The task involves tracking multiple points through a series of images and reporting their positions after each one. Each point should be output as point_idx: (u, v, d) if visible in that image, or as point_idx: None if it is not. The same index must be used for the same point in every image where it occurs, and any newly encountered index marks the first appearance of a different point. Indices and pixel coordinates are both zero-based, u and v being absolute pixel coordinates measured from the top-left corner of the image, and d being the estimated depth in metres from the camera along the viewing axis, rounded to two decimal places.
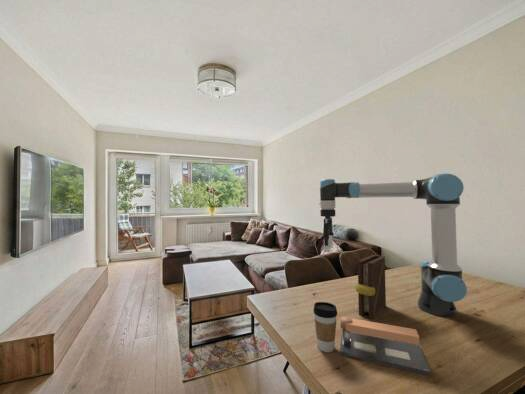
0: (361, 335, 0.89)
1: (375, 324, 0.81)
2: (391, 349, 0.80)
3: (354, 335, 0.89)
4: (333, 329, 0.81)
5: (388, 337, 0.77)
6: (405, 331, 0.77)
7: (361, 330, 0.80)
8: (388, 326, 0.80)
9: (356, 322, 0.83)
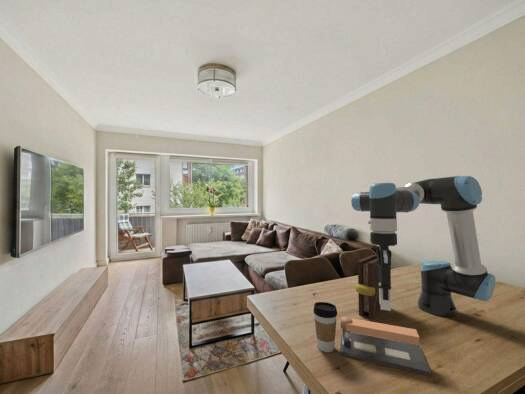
0: (361, 335, 0.89)
1: (375, 324, 0.81)
2: (391, 349, 0.80)
3: (354, 335, 0.89)
4: (333, 329, 0.81)
5: (388, 337, 0.77)
6: (405, 331, 0.77)
7: (361, 330, 0.80)
8: (388, 326, 0.80)
9: (356, 322, 0.83)
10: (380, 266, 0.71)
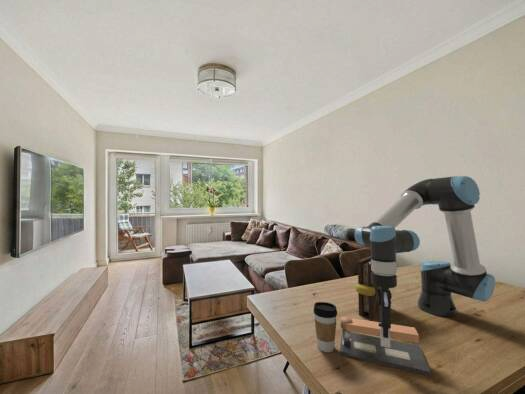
0: (361, 335, 0.89)
1: (375, 323, 0.82)
2: (391, 349, 0.80)
3: (354, 335, 0.89)
4: (333, 329, 0.81)
5: None
6: (404, 329, 0.78)
7: (361, 329, 0.80)
8: None
9: (356, 321, 0.83)
10: (380, 306, 0.75)
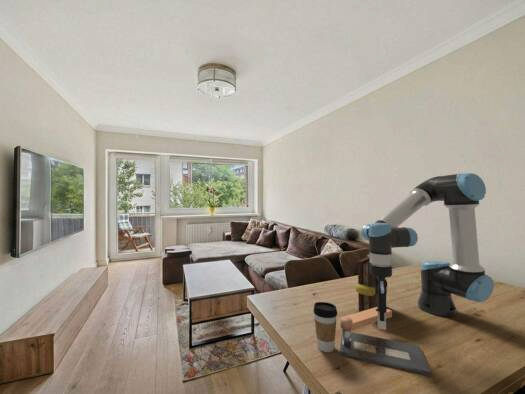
0: (361, 335, 0.89)
1: (362, 313, 0.89)
2: (391, 349, 0.80)
3: (354, 335, 0.89)
4: (333, 329, 0.81)
5: (377, 320, 0.88)
6: None
7: (361, 323, 0.84)
8: (369, 311, 0.91)
9: (352, 318, 0.86)
10: None
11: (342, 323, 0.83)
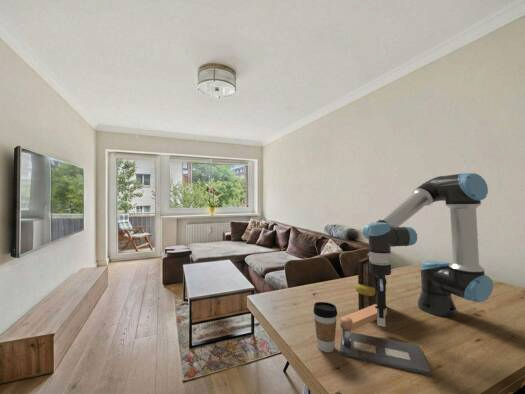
0: (361, 335, 0.89)
1: (360, 312, 0.90)
2: (391, 349, 0.80)
3: (354, 335, 0.89)
4: (333, 329, 0.81)
5: (374, 318, 0.89)
6: (376, 308, 0.94)
7: (361, 323, 0.85)
8: (366, 310, 0.92)
9: (351, 317, 0.86)
10: (377, 291, 0.88)
11: (342, 323, 0.83)
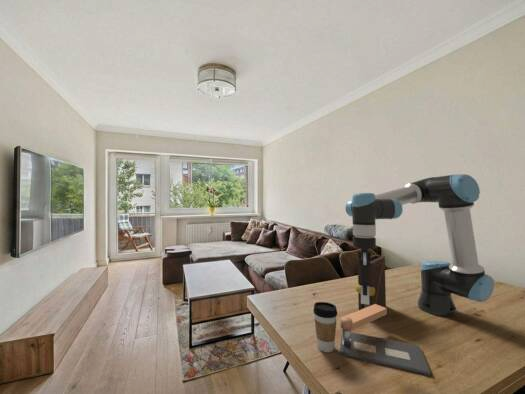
0: (361, 335, 0.89)
1: (360, 312, 0.90)
2: (391, 349, 0.80)
3: (354, 335, 0.89)
4: (333, 329, 0.81)
5: (374, 318, 0.89)
6: (376, 308, 0.94)
7: (360, 323, 0.85)
8: (366, 309, 0.92)
9: (351, 317, 0.86)
10: None
11: (342, 323, 0.83)
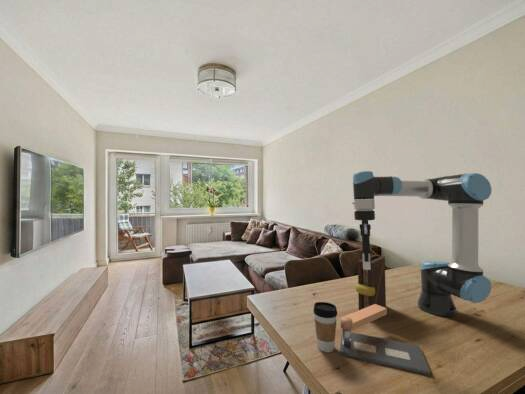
0: (361, 335, 0.89)
1: (360, 312, 0.90)
2: (391, 349, 0.80)
3: (354, 335, 0.89)
4: (333, 329, 0.81)
5: (374, 318, 0.89)
6: (376, 308, 0.94)
7: (360, 323, 0.85)
8: (366, 309, 0.92)
9: (351, 317, 0.86)
10: (362, 236, 0.91)
11: (342, 323, 0.83)
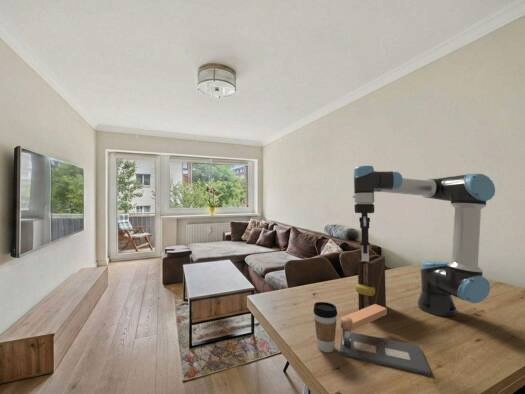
0: (361, 335, 0.89)
1: (360, 312, 0.90)
2: (391, 349, 0.80)
3: (354, 335, 0.89)
4: (333, 329, 0.81)
5: (374, 318, 0.89)
6: (376, 308, 0.94)
7: (360, 323, 0.85)
8: (366, 309, 0.92)
9: (351, 317, 0.86)
10: (361, 229, 0.94)
11: (342, 323, 0.83)
